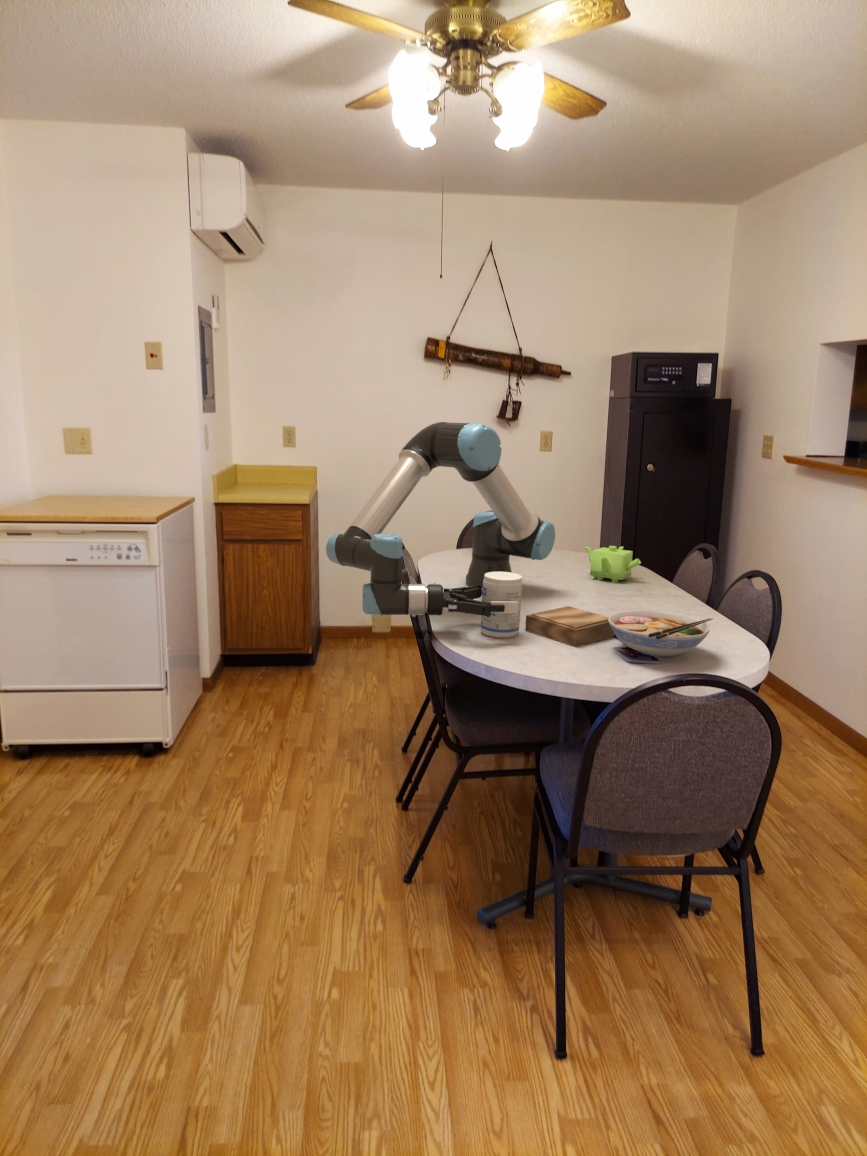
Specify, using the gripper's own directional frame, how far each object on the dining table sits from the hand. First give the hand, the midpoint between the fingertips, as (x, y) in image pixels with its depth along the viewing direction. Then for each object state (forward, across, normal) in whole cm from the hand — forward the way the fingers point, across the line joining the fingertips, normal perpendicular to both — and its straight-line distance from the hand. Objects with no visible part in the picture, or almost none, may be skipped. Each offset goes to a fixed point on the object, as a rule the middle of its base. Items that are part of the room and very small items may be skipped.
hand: (512, 600), depth 189 cm
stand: (+15, 0, -8) cm, 17 cm away
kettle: (+45, -63, -9) cm, 78 cm away
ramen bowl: (+31, +15, -9) cm, 36 cm away
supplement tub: (-3, 0, -9) cm, 9 cm away
